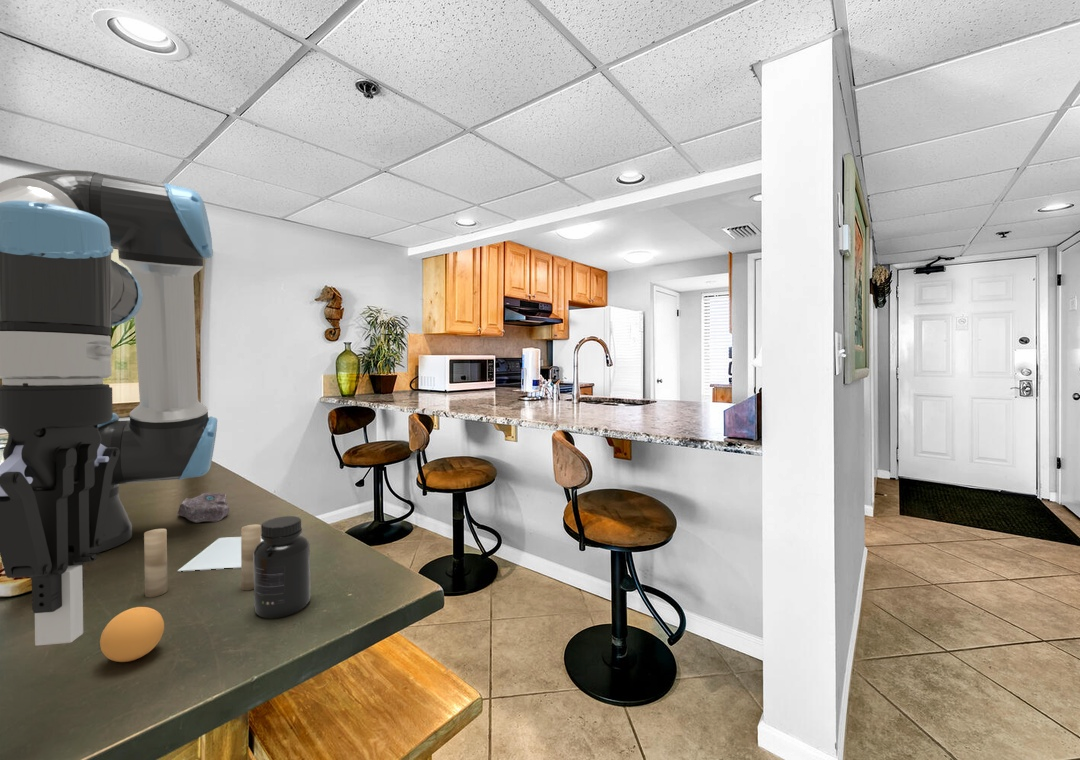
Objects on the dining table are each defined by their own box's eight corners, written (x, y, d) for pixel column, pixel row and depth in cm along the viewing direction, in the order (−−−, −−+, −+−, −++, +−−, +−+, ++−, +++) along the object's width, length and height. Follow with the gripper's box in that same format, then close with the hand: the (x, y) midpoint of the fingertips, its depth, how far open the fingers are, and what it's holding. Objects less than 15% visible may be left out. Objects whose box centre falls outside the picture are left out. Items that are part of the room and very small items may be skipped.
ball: (121, 645, 55) (121, 599, 55) (174, 640, 56) (174, 596, 56) (87, 676, 50) (86, 625, 50) (145, 670, 51) (145, 621, 51)
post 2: (245, 583, 71) (245, 524, 71) (263, 581, 72) (263, 524, 71) (238, 591, 69) (238, 530, 68) (257, 589, 69) (257, 529, 69)
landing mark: (219, 538, 88) (219, 537, 88) (299, 534, 91) (299, 533, 91) (177, 571, 74) (177, 570, 74) (273, 565, 77) (273, 564, 77)
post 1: (151, 589, 69) (150, 529, 68) (171, 588, 69) (170, 528, 69) (140, 597, 66) (139, 535, 66) (160, 596, 67) (160, 534, 66)
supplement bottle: (273, 593, 68) (273, 512, 68) (319, 595, 68) (319, 513, 68) (241, 619, 61) (241, 529, 61) (293, 621, 61) (292, 530, 61)
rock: (188, 528, 94) (188, 505, 93) (174, 516, 101) (174, 494, 101) (235, 519, 100) (235, 497, 100) (218, 507, 107) (218, 488, 107)
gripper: (44, 385, 37) (49, 681, 37) (148, 380, 49) (150, 600, 50) (-75, 384, 35) (-68, 693, 36) (64, 379, 48) (67, 607, 48)
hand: (59, 639), depth 43 cm, fingers closed
